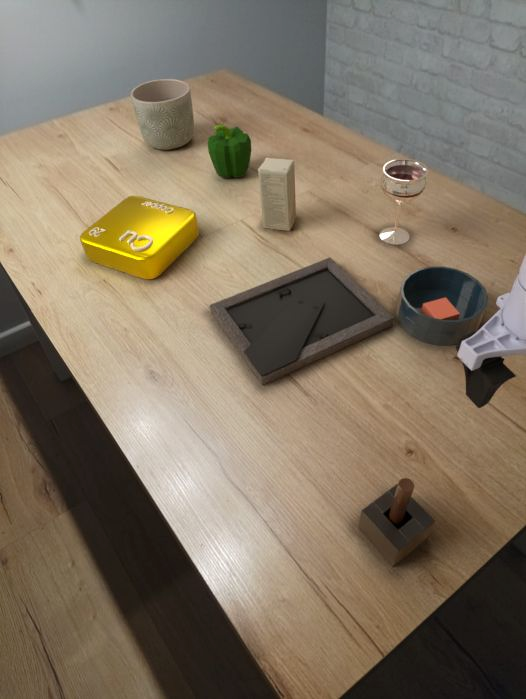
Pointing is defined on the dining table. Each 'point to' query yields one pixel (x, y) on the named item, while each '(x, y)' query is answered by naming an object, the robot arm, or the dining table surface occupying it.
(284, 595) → the dining table surface
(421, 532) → the stand
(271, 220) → the box
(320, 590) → the dining table surface
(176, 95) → the planter
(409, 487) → the brown cylindrical rod
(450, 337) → the bowl
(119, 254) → the element tile
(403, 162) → the wineglass
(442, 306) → the block
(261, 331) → the picture frame
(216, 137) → the bell pepper
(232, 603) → the dining table surface
